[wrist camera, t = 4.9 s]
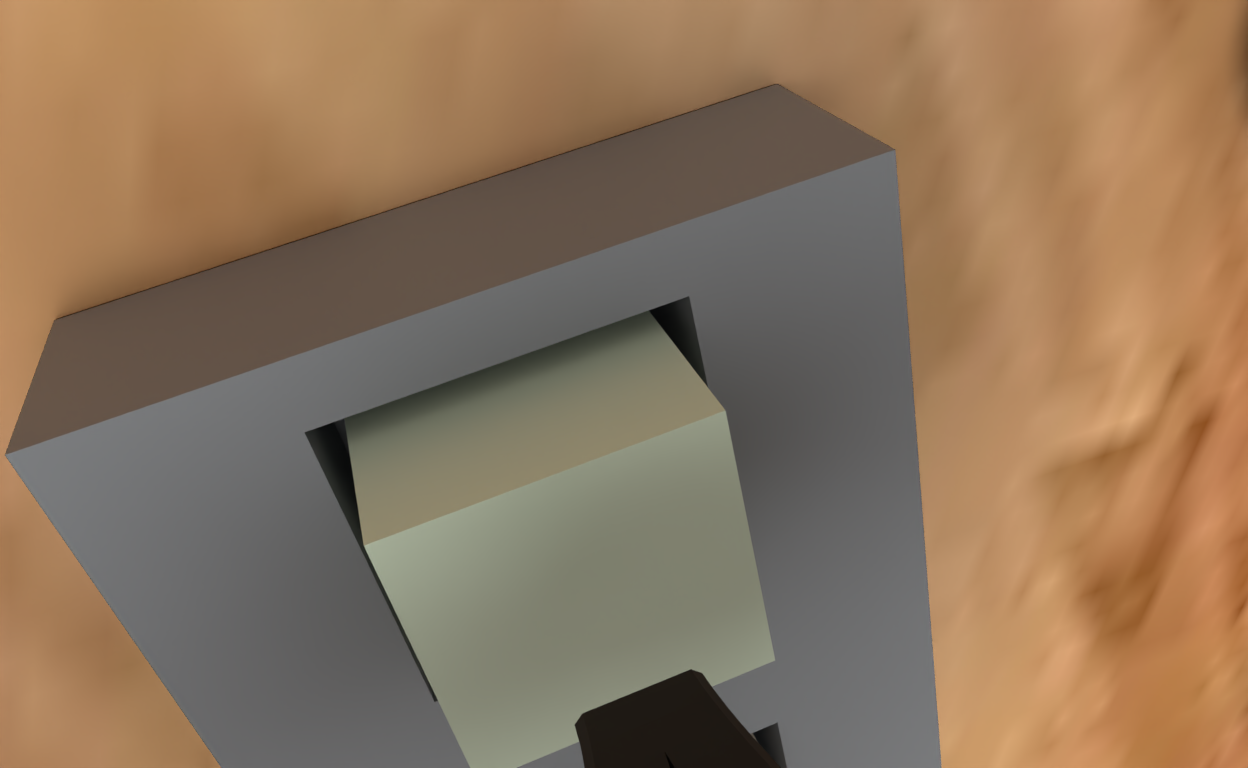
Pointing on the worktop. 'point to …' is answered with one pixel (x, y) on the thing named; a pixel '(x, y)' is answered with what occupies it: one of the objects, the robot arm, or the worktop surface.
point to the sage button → (560, 535)
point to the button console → (474, 340)
